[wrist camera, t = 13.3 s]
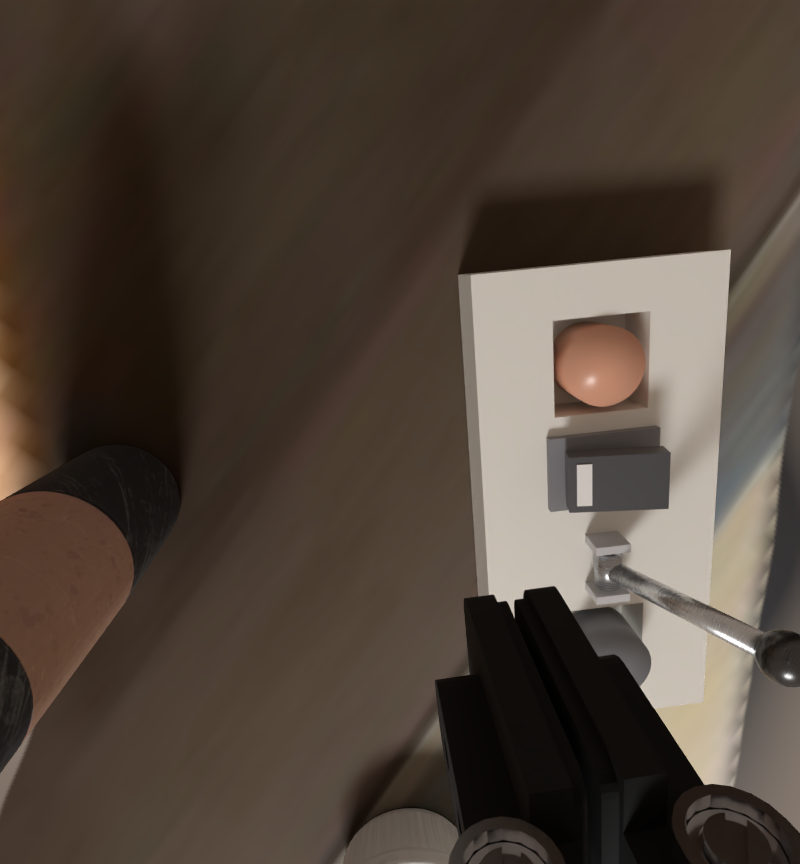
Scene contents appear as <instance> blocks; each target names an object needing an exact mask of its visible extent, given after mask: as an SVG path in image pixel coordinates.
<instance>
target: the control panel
mask: <svg viewBox="0 0 800 864" xmlns="http://www.w3.org/2000/svg"><path fill="white" fill-rule="evenodd" d="M730 256H731V250H716V251H700V252H686V253H675V254H665V255H655V256H644V257H634V258H624V259H614V260H603V261H593V262H583V263H573V264H562V265H552V266H542V267H532V268H521V269H511V270H501V271H491V272H480V273H470V274H460V275H458V284H459V300H460V315H461V331H462V347H463V363H464V379H465V395H466V410H467V426H468V442H469V458H470V474H471V490H472V505H473V521H474V537H475V553H476V569H477V585H478V596H485V595H492V594H493V595H494V596H495V598H496V600H497V602H501V601H507V602H508V604H509V606H510V609H511V611H512V613H513V616H514V618H515V615H514V601H515V600H516V599H523V594H524V591H525V590H528V589H536V588H543V587H550V586H555V587H556V588H557V589H558V591H559V592H560V594H561V596H562V597H563V599H564V601H565V602H566V604H567V606H568V607H569V609H570V611H571V612H572V614H573V615H574V614H576V613H577V612H578V611H580V610H586V609H594V608H602V607H611V608H613V609H615V610H617V611H618V612H619V613H620V614H621V615H622V616H623V617H624V618H625V620H626V621H627V622H628V624H629V625H630V626H631V628H632V629H633V630H634V632H635V633H636V634H637V635H638V637H639V638H640V639H641V641H642V642H643V643H644V645H645V646H646V647H647V649H648V650H649V653H650V656H651V669H650V672H649V675H648V676H647V678H646V680H645V681H644V682H643V684H642V685H641V686H640V688H641V689H642V691H643V692H644V694H645V695H646V697H647V699H648V700H649V702H650V703H651V705H652V706H653V708H654V709H656V708H664V707H671V706H679V705H687V704H694V703H702V702H703V697H704V681H705V664H706V648H707V631H705V630H703V629H701V628H699V627H697V626H695V625H693V624H691V623H689V622H688V621H686V620H684V619H682V618H680V617H678V616H676V615H674V614H672V613H670V612H668V611H667V610H665V609H663V608H661V607H659V606H657V605H655V604H653V603H651V602H649V601H647V600H645V599H644V598H642V597H640V596H638V595H636V594H634V593H632V592H630V591H628V590H626V589H624V588H623V587H621V588H620V589H618V590H613V591H608V590H603V589H600V588H598V587H596V586H595V585H594V554H595V555H596V556H603V555H612V554H620V553H622V554H623V561H622V564H623V565H625V566H627V567H629V568H632V569H634V570H636V571H638V572H640V573H642V574H644V575H646V576H648V577H650V578H652V579H654V580H656V581H659V582H661V583H663V584H665V585H667V586H669V587H671V588H673V589H675V590H677V591H679V592H681V593H683V594H686V595H688V596H690V597H692V598H694V599H696V600H698V601H700V602H702V603H704V604H706V605H708V606H709V599H710V583H711V566H712V550H713V534H714V517H715V501H716V485H717V468H718V452H719V436H720V419H721V403H722V387H723V370H724V354H725V338H726V321H727V305H728V289H729V272H730ZM583 321H591V322H597V323H602V324H606V325H611V326H616V327H620V328H623V329H626V330H627V331H629V332H631V333H632V334H633V335H635V337H636V338H637V339H638V340H639V342H640V343H641V345H642V347H643V350H644V353H645V361H646V364H645V371H644V375H643V378H642V380H641V382H640V384H639V386H638V387H637V389H636V390H635V391H634V392H633V393H632V394H631V395H630V396H629V397H628V398H626V399H625V400H623V401H621V402H619V403H617V404H615V405H611V406H605V407H599V406H593V405H589V404H587V403H585V402H583V401H581V400H579V399H578V398H576V397H574V396H572V395H571V394H569V393H567V392H566V391H564V390H562V389H561V388H560V387H558V386H557V385H556V384H555V382H554V363H553V341H554V339H555V338H556V337H557V336H558V334H559V333H560V332H561V331H563V330H564V329H565V328H567V327H568V326H570V325H572V324H575V323H578V322H583ZM649 446H664V447H665V448H666V449H667V450H668V451H669V452H671V460H670V487H669V509H654V510H630V511H605V512H581V513H569V510H568V508H567V506H566V475H565V451H575V450H594V449H612V448H631V447H649Z"/></svg>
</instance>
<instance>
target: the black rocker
mask: <svg viewBox="0 0 800 864" xmlns="http://www.w3.org/2000/svg"><path fill="white" fill-rule="evenodd" d="M670 460H671V452H669V451H668V450H667V449H666V448H665V447H664V446H649V447H631V448H612V449H594V450H575V451H565V475H566V506H567V508H568V510H569V513H581V512H605V511H630V510H654V509H669V487H670Z"/></svg>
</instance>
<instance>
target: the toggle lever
mask: <svg viewBox="0 0 800 864" xmlns="http://www.w3.org/2000/svg"><path fill="white" fill-rule="evenodd" d="M622 561H623V554H622V553H620V554H612V555H603V556H596V555H595V554H594V585H595V586H596V587H598V588H600V589H603V590H608V591H613V590H618V589H620V588H621V587H623V588H624V589H626V590H628V591H630V592H632V593H634V594H636V595H638V596H640V597H642V598H644V599H645V600H647V601H649V602H651V603H653V604H655V605H657V606H659V607H661V608H663V609H665V610H667V611H668V612H670V613H672V614H674V615H676V616H678V617H680V618H682V619H684V620H686V621H688V622H689V623H691V624H693V625H695V626H697V627H699V628H701V629H703V630H705V631H707V632H709V633H710V634H712V635H714V636H716V637H718V638H720V639H722V640H724V641H726V642H728V643H730V644H731V645H733V646H735V647H737V648H739V649H741V650H743V651H745V652H747V653H749V654H751V655H752V656H754V657H755V660H756V663H757V665H758V667H759V669H760V670H761V671H762V672H763V674H764V675H765V676H766V677H767V678H769V679H770V680H772V681H773V682H775V683H777V684H779V685H782V686H786V687H800V635H799V634H798V633H795V632H793V631H789V630H784V629H778V630H772V631H769V632H767V633H765V632H762V631H760V630H758V629H756V628H754V627H752V626H750V625H748V624H746V623H744V622H742V621H740V620H738V619H735V618H733V617H731V616H729V615H727V614H725V613H723V612H721V611H719V610H717V609H715V608H713V607H711V606H708V605H706V604H704V603H702V602H700V601H698V600H696V599H694V598H692V597H690V596H688V595H686V594H683V593H681V592H679V591H677V590H675V589H673V588H671V587H669V586H667V585H665V584H663V583H661V582H659V581H656V580H654V579H652V578H650V577H648V576H646V575H644V574H642V573H640V572H638V571H636V570H634V569H632V568H629V567H627V566H625V565H623V564H622Z"/></svg>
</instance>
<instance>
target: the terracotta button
mask: <svg viewBox="0 0 800 864" xmlns="http://www.w3.org/2000/svg"><path fill="white" fill-rule="evenodd" d="M553 363H554V382H555V384H556V385H557V386H558V387H560V388H561V389H562V390H564V391H566V392H567V393H569V394H571V395H572V396H574V397H576V398H578V399H579V400H581V401H583V402H585V403H587V404H589V405H593V406H599V407H605V406H611V405H615V404H617V403H619V402H621V401H623V400H625V399H626V398H628V397H629V396H630V395H631V394H632V393H633V392H634V391H635V390H636V389H637V387H638V386H639V384H640V382H641V380H642V378H643V375H644V371H645V364H646V361H645V353H644V350H643V347H642V345H641V343H640V342H639V340H638V339H637V338H636V337H635V335H633V334H632V333H631V332H629V331H627V330H626V329H623V328H620V327H616V326H611V325H606V324H602V323H597V322H591V321H583V322H578V323H575V324H572V325H570V326H568V327H567V328H565V329H564V330H563V331H561V332H560V333H559V334H558V336H557V337H556V338H555V339H554V341H553Z"/></svg>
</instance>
